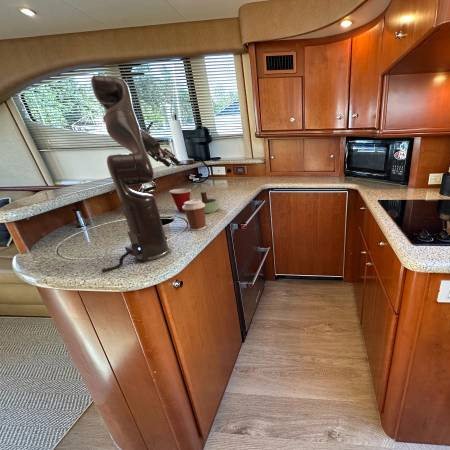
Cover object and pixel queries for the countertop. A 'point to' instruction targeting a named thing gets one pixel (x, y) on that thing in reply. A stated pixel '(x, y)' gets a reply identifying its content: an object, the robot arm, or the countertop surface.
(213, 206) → the bowl
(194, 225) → the coffee cup
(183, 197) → the plastic cup
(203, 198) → the muddler
